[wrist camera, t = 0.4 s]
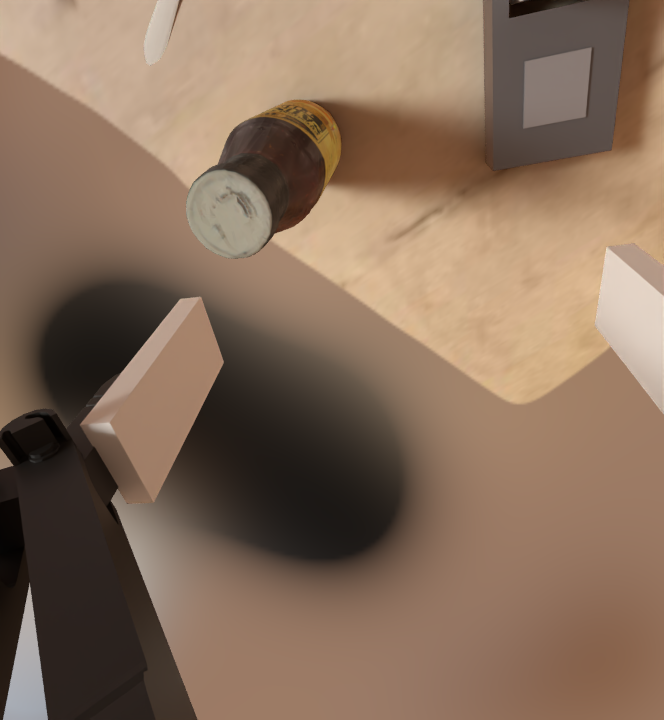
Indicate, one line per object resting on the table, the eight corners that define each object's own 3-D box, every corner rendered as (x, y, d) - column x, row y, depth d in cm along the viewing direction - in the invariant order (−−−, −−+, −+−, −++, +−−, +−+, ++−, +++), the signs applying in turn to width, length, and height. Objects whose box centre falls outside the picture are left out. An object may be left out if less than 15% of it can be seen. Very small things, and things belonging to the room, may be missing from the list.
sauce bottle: (342, 96, 35) (309, 136, 19) (343, 183, 39) (316, 282, 22) (256, 98, 36) (150, 139, 19) (265, 183, 39) (181, 280, 23)
